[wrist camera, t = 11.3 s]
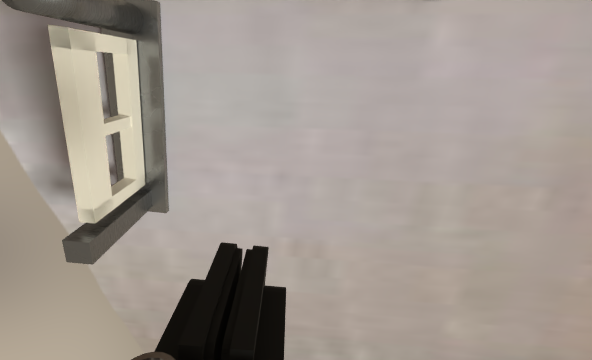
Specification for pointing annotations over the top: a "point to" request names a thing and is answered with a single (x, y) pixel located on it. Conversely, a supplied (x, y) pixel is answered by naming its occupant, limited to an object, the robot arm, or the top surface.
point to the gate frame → (147, 32)
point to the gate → (98, 117)
